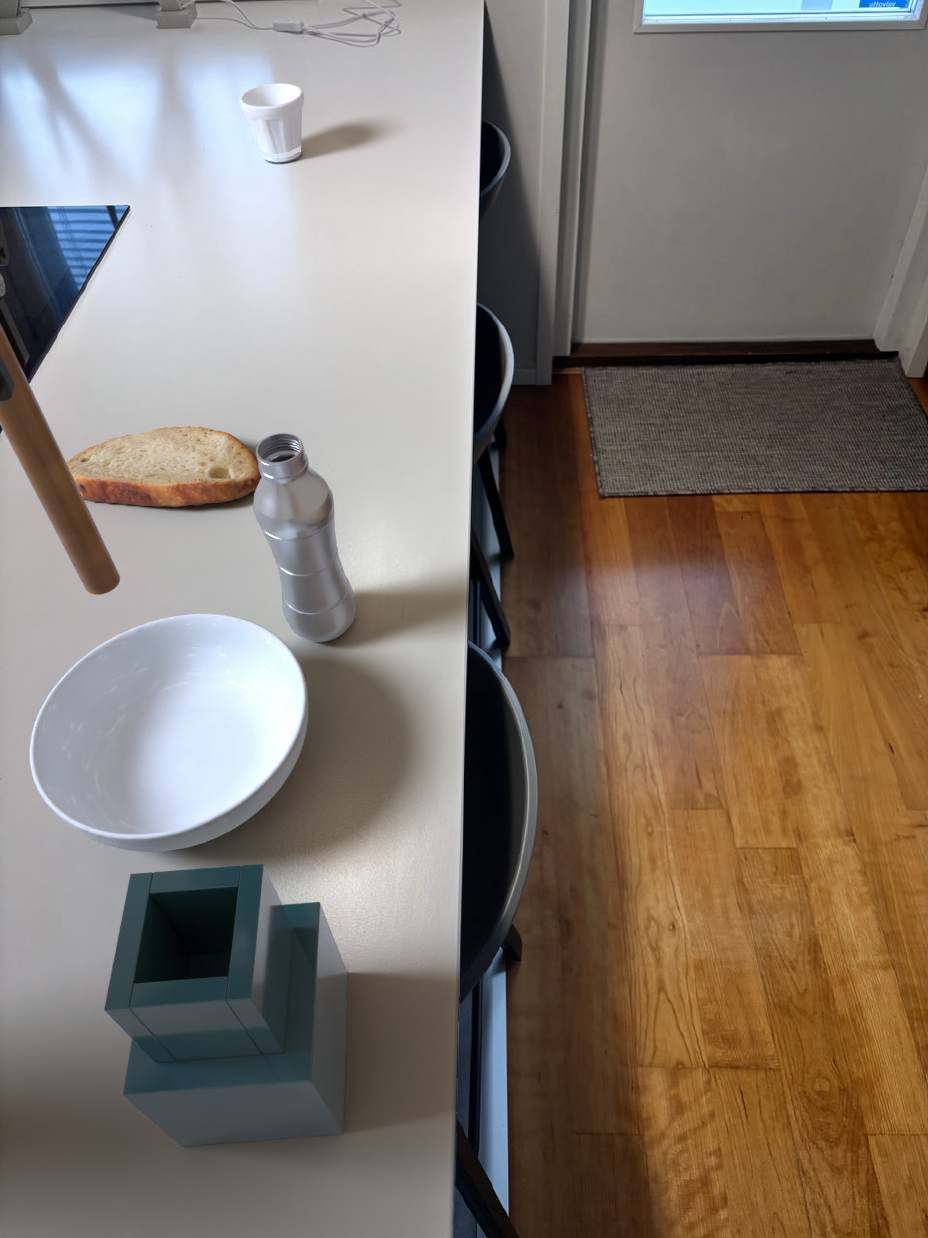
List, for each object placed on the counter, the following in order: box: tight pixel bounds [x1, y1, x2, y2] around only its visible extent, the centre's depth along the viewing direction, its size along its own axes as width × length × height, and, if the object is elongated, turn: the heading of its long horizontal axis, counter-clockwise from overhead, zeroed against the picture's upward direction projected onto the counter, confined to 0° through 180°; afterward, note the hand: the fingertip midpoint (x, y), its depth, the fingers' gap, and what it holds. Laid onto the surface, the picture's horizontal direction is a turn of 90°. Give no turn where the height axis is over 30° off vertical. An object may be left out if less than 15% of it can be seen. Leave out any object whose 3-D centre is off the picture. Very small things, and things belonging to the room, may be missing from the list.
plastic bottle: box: [252, 432, 357, 643], centre depth 78 cm, size 6×7×20 cm
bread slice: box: [66, 425, 262, 508], centre depth 99 cm, size 18×18×4 cm
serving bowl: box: [29, 613, 309, 853], centre depth 74 cm, size 21×21×7 cm
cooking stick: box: [0, 324, 121, 596], centre depth 53 cm, size 2×2×20 cm
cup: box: [238, 82, 305, 165], centre depth 151 cm, size 10×10×9 cm
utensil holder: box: [103, 863, 349, 1147], centre depth 54 cm, size 10×10×19 cm
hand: (1, 380), depth 49 cm, fingers closed on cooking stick, 2 cm apart
